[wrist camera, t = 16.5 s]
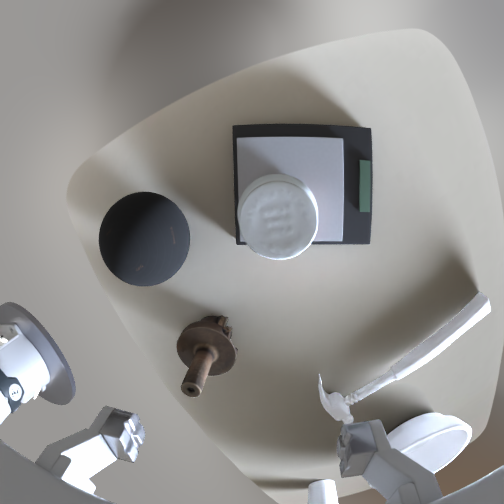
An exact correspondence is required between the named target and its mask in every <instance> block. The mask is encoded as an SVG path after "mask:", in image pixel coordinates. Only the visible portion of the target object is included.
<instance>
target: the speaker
mask: <svg viewBox="0 0 504 504" xmlns="http://www.w3.org/2000/svg"><path fill="white" fill-rule="evenodd" d="M189 245H190V233H189V227H188V224H187V221H186V219H185V216H184V215H183V213H182V211H181V210H180V209H179V208H178V206H177V205H176V204H175V203H173V202H172V201H171V200H169V199H168V198H166V197H164V196H162V195H160V194H156V193H152V192H138V193H133V194H130V195H127V196H125V197H123V198H122V199H120V200H119V201H117V202H116V203H115V204H114V205H113V206H112V207H111V208H110V209H109V211H108V212H107V213H106V215H105V217H104V219H103V221H102V224H101V227H100V232H99V247H100V252H101V255H102V258H103V260H104V262H105V264H106V266H107V267H108V269H109V270H110V271H111V272H112V273H113V274H114V275H115V276H116V277H118V278H119V279H120V280H122V281H124V282H126V283H128V284H131V285H135V286H153V285H157V284H160V283H162V282H164V281H166V280H168V279H169V278H171V277H172V276H173V275H174V274H175V273H176V272H177V271H178V270H179V269H180V268H181V266H182V265H183V263H184V261H185V259H186V257H187V254H188V250H189Z"/></svg>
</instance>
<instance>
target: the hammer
mask: <svg viewBox="0 0 504 504" xmlns="http://www.w3.org/2000/svg"><path fill="white" fill-rule="evenodd" d="M490 309H491V307H490V302H489V298H488V297H487V296H485V295H484V294H483V293H481V292H479V293H477V294H476V296H475V297H474V298H473V299H472V300H471V301H470V302H469V304H468V305H467V306H466V307H465V308H464V309H463V310H462V311H461V312H460V313H459V314H458V315H457V316H456V317H454V318H453V319H452V320H451V321H450V322H449V323H448V324H446V325H445V326H444V327H443V328H441V329H440V330H439V331H437V332H436V333H435V334H433V335H432V336H431V337H429V338H428V339H427V340H425V341H424V342H423V343H421V344H420V345H419V346H417V347H416V348H415V349H414V350H412V351H411V352H410V353H409V354H407V355H406V356H405V357H404V358H402V359H401V360H400V361H398V362H397V363H396V364H394V365H393V366H392V367H391V369H390V370H389V371H388V372H386V373H385V374H384V375H382V376H381V377H379V378H378V379H376V380H374V381H373V382H371V383H369V384H368V385H366V386H364V387H362V388H361V389H359V390H357V391H354V393H351V394H350V395H347V396H346V397H345V398H343V396H342V395H341V394H340V393H338V392H333V393H331V394H327V393H326V392H325V391H324V389H323V387H322V381H321V376H320V373H319V393H320V400H321V403H322V405H323V407H324V408H325V410H326V411H327V412H328V413H329V414H330V415H331V416H332V417H333V418H334V419H335V420H337V421H340V420H342V421H343V422H344V423H345V424H350V423H352V422H353V416H352V415H351V414H350V408H349V405H353V403H357V401H360V400H361V399H363V398H364V397H366V396H368V395H369V394H371V393H373V392H374V391H376V390H378V389H380V388H381V387H383V386H385V385H386V384H388V383H390V382H392V381H393V380H395V379H397V380H399V379H401V378H402V377H404V376H406V375H407V374H409V373H411V372H412V371H414V370H415V369H417V368H419V367H420V366H422V365H423V364H425V363H426V362H428V361H429V360H431V359H432V358H433V357H435V356H436V355H437V354H439V353H440V352H441V351H442V350H443V349H445V348H446V347H447V346H448V345H449V344H451V343H452V342H453V341H454V340H455V339H456V338H458V337H459V336H460V335H461V334H463V333H464V332H465V331H466V330H467V329H469V328H470V327H471V326H472V325H474V324H475V323H476V322H477V321H479V320H480V319H481V318H482V317H484V316H485V315H486V314H488V313H489V312H490Z"/></svg>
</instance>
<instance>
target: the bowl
mask: <svg viewBox="0 0 504 504" xmlns="http://www.w3.org/2000/svg"><path fill="white" fill-rule="evenodd" d="M471 434H472V429H471V428H470V426H469V425H467V424H466V423H464V422H462V421H461V420H459V419H458V418H456V417H454V416H448V415H447V416H443V415H442V414H440V413H435V412H434V413H427V414H423V415H420V416H417V417H415V418H413V419H410V420H408V421H407V422H405V423H403V424H401V425H400V426H398V427H397V428H395V429H394V430H393V431H391V432H390V433H389V434H388V435H387V438H388V441H389V444H390V446H391V449H392V448H395V449H397V450H398V451H400V452H401V453H403V454H404V455H406V456H407V457H409V458H410V459H412V460H413V461H415V462H416V463H418V464H420V465H421V466H423V467H424V468H426V469H427V470H429V471H431V472H432V473H435V472H437V471H438V470H440V469H441V468H443V467H444V466H446V465H447V464H448V463H450V462H451V461H452V460H453V459H454V458H455V457H456V456H457V455H458V454H459V453H460V452H461V451H462V450H463V448H465V446H466V445H467V443H468V442H469V440H470V437H471ZM368 484H369V485H370V486H371V487H372V488H374V487H373V486H372V485H371V484H370V483H369V482H368Z"/></svg>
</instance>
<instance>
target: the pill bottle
mask: <svg viewBox="0 0 504 504" xmlns="http://www.w3.org/2000/svg"><path fill="white" fill-rule="evenodd" d="M237 217H238V223H239V227H240V231H241V234H242V237H243V239H244V240H245V242H246V243H247V245H248V246H249V247H250V248H251V249H252V250H253V251H254V252H256V253H257V254H259V255H261V256H263V257H266V258H269V259H274V260H284V259H289V258H292V257H294V256H297V255H299V254H300V253H302V252H303V251H304V250H305V249H306V248H307V247H308V246H309V245H310V244H311V242H312V241H313V239H314V237H315V235H316V232H317V228H318V208H317V203H316V200H315V198H314V195H313V194H312V192H311V191H310V189H309V188H308V187H307V186H306V185H305V184H304V183H303V182H302V181H300V180H299V179H297V178H296V177H293V176H290V175H287V174H281V173H274V174H267V175H264V176H262V177H260V178H258V179H256V180H255V181H253V182H252V183H251V184H250V185H249V186H248V187H247V188H246V189H245V190H244V192H243V194H242V196H241V198H240V200H239V203H238V209H237Z"/></svg>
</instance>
